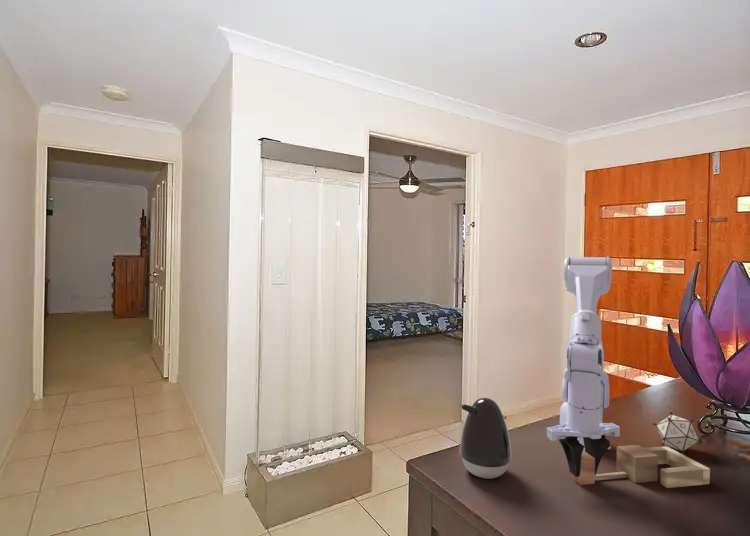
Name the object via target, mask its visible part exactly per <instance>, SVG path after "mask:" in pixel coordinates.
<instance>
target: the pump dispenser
mask: <svg viewBox="0 0 750 536" xmlns="http://www.w3.org/2000/svg"><path fill="white" fill-rule="evenodd" d="M461 410H463V411H465V412H467V415H466V416H465V417H466V418H465V420H464V422H463V423H464V424H463V427H462V431H461V435H460V442H459V455H460V457H461V459H462V460H461V461H462V463H463V465H464V467H465V468H466V470H467V471H468V472H469V473H471V475H473V476H475V477H478V478H481V479H489V480H490V479H491V480H492V479H495V478H496V479H497V478H498V477H499V478H500V477H501V476H502V475H503V474H504V473H506V471H507V470H508V468H509V465H510V462H511V461H512V447H511V440H510V433H509V430H508V426H507V423H506V420H505V418H504V415H503V413H502V410H501V408H500V407H499V405H498V403H497V402H496V401H495V400H494V399H491V398H488V397H481V398H478V399H476V400H475V401H474V402H473V404H472V405H468V404H464V403H463V404H462V405H461Z"/></svg>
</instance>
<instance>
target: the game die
mask: <svg viewBox="0 0 750 536" xmlns="http://www.w3.org/2000/svg"><path fill="white" fill-rule="evenodd" d="M694 420H695V418H690V420H689V419H686V418H684V417H681V416H679V415H678V416H677V415H675V414H674V413H673V411H671V410H670V411H669V415H668V416H667V417H664V419H662V420H661V421H659V422H657V423H654V422H651V424H652V425H653V426H655V427H656V429H657V432H658V434H659V437H660V439H661V442H662V443H661V444H660V447H663V446H667V447H669V448H671V449H674V450H676V451H678V452H681V454H683V455H685V451H686V450H688V449H690V448H691V447H693V446H694V445H695V444H697V443H700V444H703V443H705V442H704V441H703V440H702V439H701V440H700V439H699V436H698V434H697V432H696V429H695V426H694V424H693V422H694Z"/></svg>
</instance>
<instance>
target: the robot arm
mask: <svg viewBox="0 0 750 536" xmlns="http://www.w3.org/2000/svg"><path fill="white" fill-rule="evenodd" d="M612 259H613V258H611V257H610V256H603V257H602V256H600V257H599V256H598V257H597V256H596V257H595V256H590V257H589V256H588V257H587V256H582V257H580V256H579V257H578V256H576V257H575V256H573V257H571V256H567V257H566V258H565V259H564V263H563V264H564V265H563V267H564V269H563V275H564V277H563V279H564V282H565V288H566V291H567V292H569V293H570V294H573V295H574V296H575V297H574V298H576V308H577V309H576V311H577V312H575V313H573V314H572V315H571V316H570V324H569V325H570V326H569V327H570V328H569V340H568V341H569V343H568V344H567V346H566V351H565V366H566V368H565V369H564V371H563V377H562V384H561V385H562V387H561V388H562V389H561V392H562V393H561V396H562V398H561V399H562V401H563V403H562V404H561V406H560V408H559V424H557V425H554V426H549V427H547V426H546V438H547V439H548V440H550V441H552V442H557V441H559V444H560V445H561V447H562V449H563V451H564V455H565V457H566V461H567V464H568V468H569V472H570V474H571V473H572V474H573V475H574V476H576V477H579V475H580V462H581V456H582V452H583V451H585V452H587V453H588V454H589V455H591V456H592V457H594V458H595V475H596V474H597V472H598V469H599V465H600V463H601V460H602V458H603V456H604V454H605V453H606V451H608V450H612V447H611V441H610V440H609V439H607V438H606V437H607V436H613V437H620V436H621V435H620V434H621V432H620V430H621V427H620V425H617V424H615V423H614V422H603V412H604V409H607V408H608V407H609V406H610V382H609V381H610V380H609V379H610V378H609V375H608V373H607V372H606V371H605V370H604V369H605V368H604V366H605V363H604V362H605V360H604V359H605V358H604V356H605V354H604V348H603V340H602V319H601V317H600V316H599V315H598V313H597V312H598V311H597V309H598V308H597V307H598V302H599V300H600V297H601V296H603V295H606V294H608V293H609V291H610V289H611V282H612V278H613V277H612V275H613V273H612V271H613V270H612V269H613V266H612V265H613V264H612V263H613V262H612V261H613V260H612Z"/></svg>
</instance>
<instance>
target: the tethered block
mask: <svg viewBox="0 0 750 536" xmlns="http://www.w3.org/2000/svg"><path fill="white" fill-rule="evenodd" d="M645 448H646V447H642V446H641V445H640V444H631V445H618V446H616V465H615V466H616V467H615V468H616V469H615V470H616V471H615V472H606V473H604V472H603V473H596V475H595V458H594V457H592V456H591V455H589V454H588V453H587V452H585V451H583V452H582V456H581V462H580V475H579V477H576V476H574V475H573V474H572V473H571V472H570V478H571V479H573V480H574V481H575V482H576V483H577V484H579V485H580V486H584V485H585V486H586V485H594V484H595V483H596V482H595V481H602V480H603V481H604V480H613V479H614V480H615V479H624V478H626V479H628V480H630V481H631V482H633V483H635V484H638V483H639V484H640V483H649V482H650V483H651V482H657V481H658V477H659V476H658V469H659V468H658V467H659V464H658V456H657V455H656V454H654V453H652V452H650V451H648V450H647V449H645Z"/></svg>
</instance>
